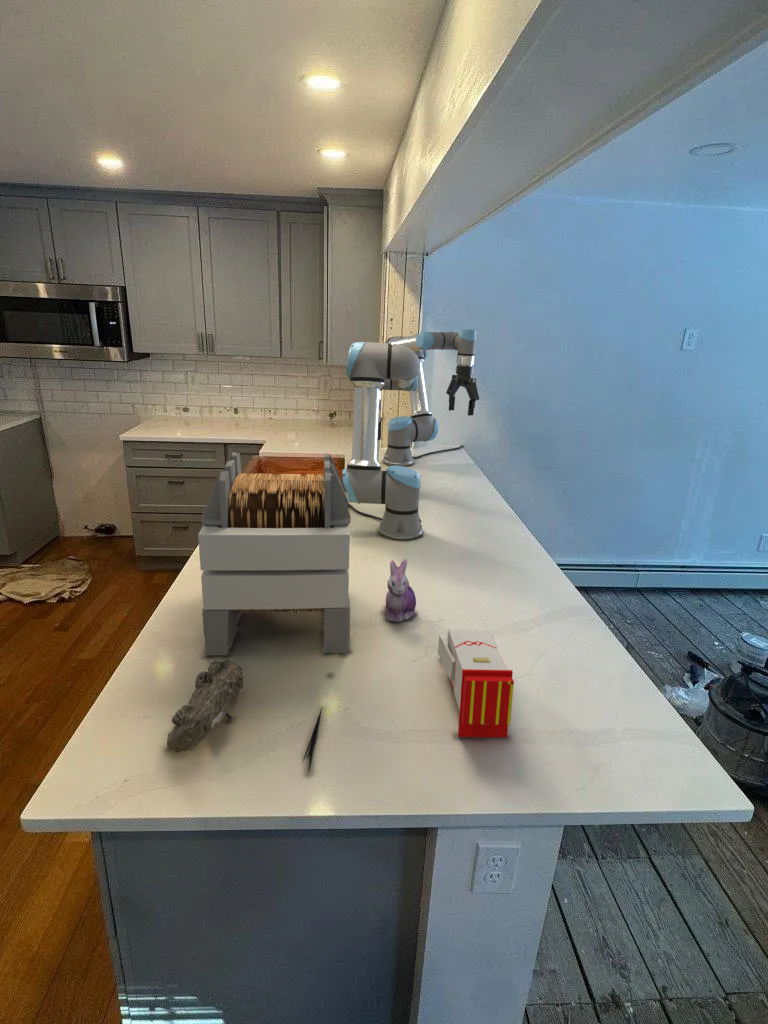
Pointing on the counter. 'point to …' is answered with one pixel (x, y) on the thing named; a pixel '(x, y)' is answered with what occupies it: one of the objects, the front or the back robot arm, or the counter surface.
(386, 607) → the figurine
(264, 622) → the counter surface
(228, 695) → the fossil
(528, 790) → the counter surface
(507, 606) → the counter surface
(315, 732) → the feather
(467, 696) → the toy
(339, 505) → the record crate
